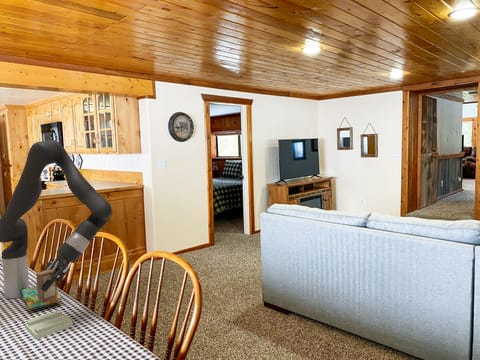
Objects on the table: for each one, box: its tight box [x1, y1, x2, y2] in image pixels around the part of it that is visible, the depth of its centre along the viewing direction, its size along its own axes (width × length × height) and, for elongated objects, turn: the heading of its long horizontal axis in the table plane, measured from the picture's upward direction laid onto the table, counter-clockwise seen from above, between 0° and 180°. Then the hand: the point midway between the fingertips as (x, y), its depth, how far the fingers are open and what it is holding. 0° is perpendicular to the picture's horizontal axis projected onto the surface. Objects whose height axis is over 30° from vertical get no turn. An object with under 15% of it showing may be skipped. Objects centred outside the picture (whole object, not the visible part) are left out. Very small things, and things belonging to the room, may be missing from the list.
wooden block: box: [35, 269, 58, 303], centre depth 127 cm, size 4×5×10 cm
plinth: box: [24, 309, 74, 340], centre depth 128 cm, size 11×12×3 cm
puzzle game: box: [22, 286, 63, 311], centre depth 149 cm, size 12×5×20 cm
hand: (40, 288), depth 126 cm, fingers closed on wooden block, 4 cm apart
